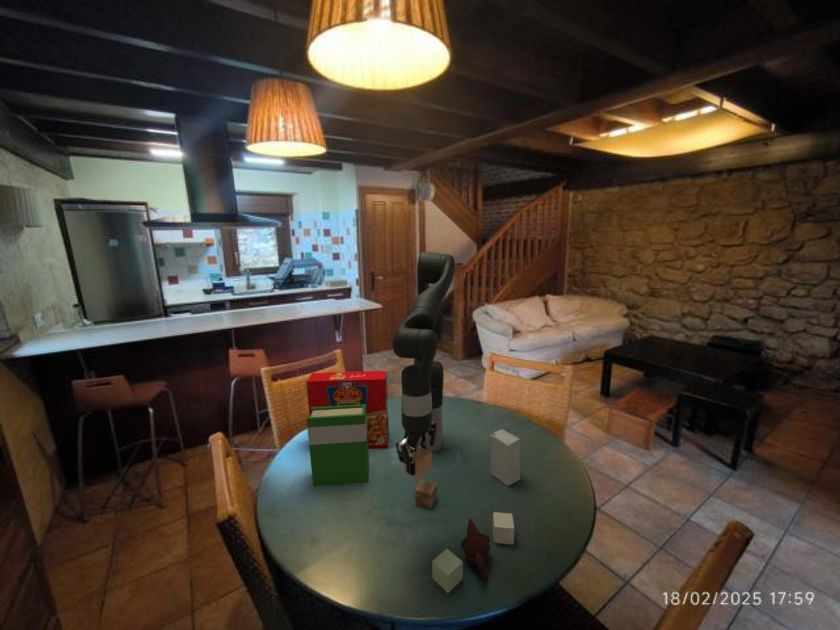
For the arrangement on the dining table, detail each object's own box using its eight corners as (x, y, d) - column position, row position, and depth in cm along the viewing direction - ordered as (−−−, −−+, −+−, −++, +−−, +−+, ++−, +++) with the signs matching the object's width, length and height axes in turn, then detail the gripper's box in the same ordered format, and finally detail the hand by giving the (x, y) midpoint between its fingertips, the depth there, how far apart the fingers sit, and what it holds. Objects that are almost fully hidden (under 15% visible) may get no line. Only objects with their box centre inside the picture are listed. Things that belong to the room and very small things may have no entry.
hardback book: (313, 486, 116) (306, 418, 110) (317, 471, 123) (311, 407, 118) (368, 482, 117) (364, 415, 112) (369, 467, 125) (365, 404, 119)
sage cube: (432, 578, 85) (432, 561, 83) (447, 565, 88) (447, 548, 87) (447, 593, 81) (447, 575, 80) (462, 579, 84) (462, 561, 83)
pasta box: (312, 451, 135) (306, 381, 128) (318, 439, 142) (312, 372, 136) (388, 448, 135) (385, 379, 129) (389, 436, 143) (386, 370, 137)
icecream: (453, 513, 96) (463, 568, 81) (480, 505, 95) (495, 560, 81) (459, 532, 98) (470, 589, 84) (485, 524, 98) (501, 580, 83)
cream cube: (493, 543, 94) (494, 526, 93) (492, 527, 99) (493, 512, 98) (513, 544, 93) (514, 528, 92) (511, 529, 98) (512, 513, 97)
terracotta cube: (404, 471, 92) (403, 454, 91) (416, 461, 96) (416, 445, 95) (419, 479, 89) (419, 461, 88) (431, 469, 93) (431, 451, 92)
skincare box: (520, 480, 117) (522, 439, 114) (507, 487, 114) (508, 445, 110) (501, 466, 124) (502, 427, 120) (488, 473, 121) (489, 433, 117)
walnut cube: (415, 504, 108) (415, 489, 106) (421, 493, 112) (421, 479, 111) (431, 509, 106) (430, 494, 105) (436, 497, 110) (436, 483, 109)
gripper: (422, 393, 96) (423, 449, 100) (385, 414, 85) (388, 477, 89) (445, 400, 92) (445, 459, 96) (409, 424, 81) (411, 490, 85)
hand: (418, 468), depth 92 cm, fingers closed on terracotta cube, 5 cm apart
